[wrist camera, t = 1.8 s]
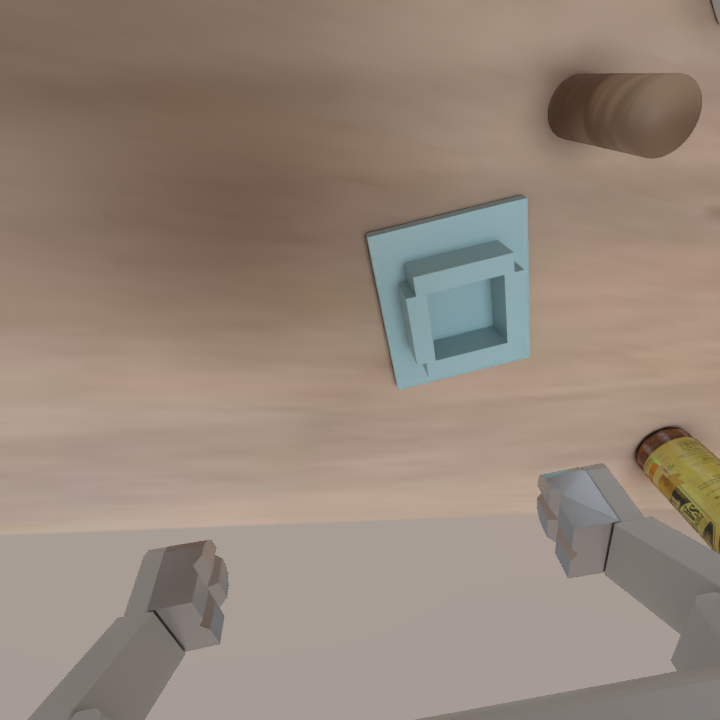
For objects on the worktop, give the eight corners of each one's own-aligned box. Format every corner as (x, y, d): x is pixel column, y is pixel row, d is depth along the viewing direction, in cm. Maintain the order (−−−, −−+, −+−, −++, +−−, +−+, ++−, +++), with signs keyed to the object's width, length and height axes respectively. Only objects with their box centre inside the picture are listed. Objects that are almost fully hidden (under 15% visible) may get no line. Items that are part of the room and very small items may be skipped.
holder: (365, 233, 35) (373, 250, 32) (521, 194, 35) (546, 207, 32) (396, 383, 42) (405, 410, 39) (525, 351, 42) (545, 375, 39)
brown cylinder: (548, 81, 31) (631, 83, 24) (606, 67, 31) (708, 64, 24) (547, 145, 34) (624, 166, 26) (602, 132, 34) (694, 148, 26)
